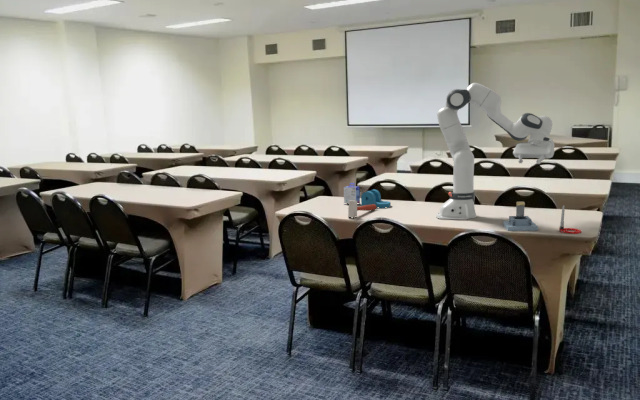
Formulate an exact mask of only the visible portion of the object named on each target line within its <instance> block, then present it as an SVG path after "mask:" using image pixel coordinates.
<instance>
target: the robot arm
mask: <svg viewBox="0 0 640 400" xmlns="http://www.w3.org/2000/svg"><path fill="white" fill-rule="evenodd" d="M445 100H446V101H445V106H443V107H441V108H439V110H438V111H437V113H436V116H437V122H438V125H439V128H440V131H441V133H442V135H443V138H444V142H445V143H446V146H447V148H448V151H449V153H450V155H451V159H452V161H453V174H452V175H453V176H452V181H453V186H452V187H453V188H452V189H453V191H449V192H448V196H449V199H448V200H446V201H445V202H444V203H442V204H441V205H440V208H439V212H437V213H435V218H436V217H437V219H438V218H439V220H459V221H460V220H461V221H462V220H463V221H464V220H467V221H468V220H469V219H470V220H471V219H475V218H476V217H477V213H476V209H475V191H474V180H475V179H474V175H475V155H474V153H473V152H472V149H471V147H470V144H469V142H468V139H467V136H466V134H465V131H464V128H463V126H462V124H461V121H460V118H459V116H458V111H459V110H461V109H463V108H464V107H465V106H466V105H468V104H469V103H470V104H473V105H475V106H477V107H479V108H480V109H481V110H482V111H484V112H485V114H486V115H487V117H488V118H489V119H490V120H491V121H492V122H494V124H496V125H497V126H498V127H500V128H501V129H502V130H503V131H505V132H506V133H507V134H508V135H509V136H510V138H512V139H513V140H514V141H517V142H518V143H517V144H516V145H515V147H514V149H513V151H512V155H513V156H514V157H515V158H518V160H517V161H518V163H519V164H523V162H524V161H523V159H525V158H526V159H527V158H528V159H529V158H530V159H531V158H532V159H534V158H535V159H536V165H540V164H541V163H542V162H543V161H544V160H545V159H551V158H553V157H554V155H555V147H556V146H555V141H554V140H553V138H551V137H550V135H551V132H552V130H553V129H552V128H553V121H552V119H551V118H550V117H548V116H547V115H539V116H538V115H535V114H534V113H531V112H525V113H523V114H522V115H521V116H520V117H519V118H518V120H517V121H516V122H513V121H512V120H511V119H509V117H507V116H505V115H504V113H503V112H502V110H501V106H502V99H501V96H500V95H499V93H497V92H496V91H494V89H491V88H490V87H487V86H485V85H483V84H481V83H479V82H472V83H471V84H469V85H468V86H467V88H466V89H461V88H455V89H451V90H450V91H449V92H448V93H447V95H446V99H445ZM527 137H529V138H528V141H525V142H523V141H524V140H526V139H527Z"/></svg>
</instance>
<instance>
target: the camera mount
mask: <svg viewBox="0 0 640 400" xmlns="http://www.w3.org/2000/svg"><path fill="white" fill-rule="evenodd" d="M391 203H392V202H391V201H388V200H387V201H386V200H382V196H381V192H380V191H379V190H378V189H374V188H373V189H371V190H367V191H365V192H363V193H362V194H361V195H360V204H361V205H360V206H364V205H372V204H375V205H376V207H379V208H378V209H386V208H385V207H389V208H391V207H390V206H391Z"/></svg>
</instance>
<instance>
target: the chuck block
mask: <svg viewBox="0 0 640 400" xmlns="http://www.w3.org/2000/svg"><path fill="white" fill-rule="evenodd" d="M502 222H503V223H502V224H503V227H504V228H505V229H506V230H507V231H508V232H509V231H510V232H511V231H512V232H515V231H516V232H518V231H519V232H522V231H523V232H524V231H525V232H526V231H527V232H529V231H530V232H531V231H532V232H533V231H539V226H538V225H537V224H536V223H535V222H534V221H533V220H532V218H530V216H529V215H524V219H516V215H509V216H508V220H502Z"/></svg>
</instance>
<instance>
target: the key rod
mask: <svg viewBox="0 0 640 400" xmlns="http://www.w3.org/2000/svg"><path fill="white" fill-rule="evenodd" d="M525 205H526V203H525V201H516V205H515V206H516V208H515V211H516V212H515V216H516V219H524V216H525Z"/></svg>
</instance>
